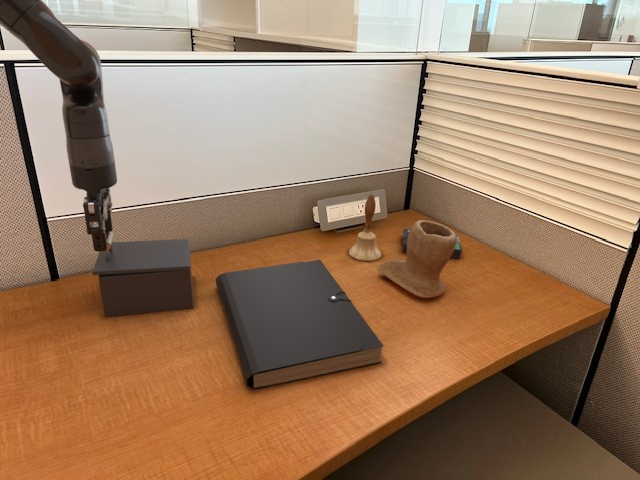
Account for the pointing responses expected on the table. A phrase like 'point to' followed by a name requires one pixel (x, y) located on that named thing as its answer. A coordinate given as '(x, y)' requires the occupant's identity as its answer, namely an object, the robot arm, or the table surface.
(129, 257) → the bin lid
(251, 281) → the dark grey notebook
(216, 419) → the table surface
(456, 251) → the disk drive
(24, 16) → the robot arm
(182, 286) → the bin
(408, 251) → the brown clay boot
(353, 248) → the hand bell
